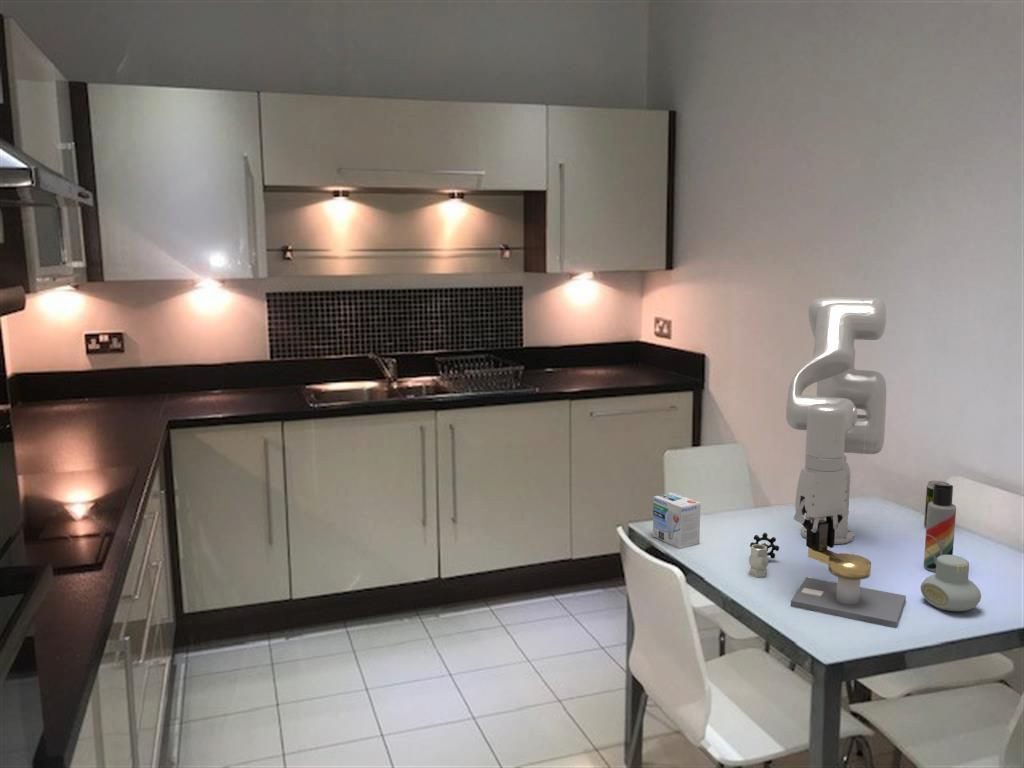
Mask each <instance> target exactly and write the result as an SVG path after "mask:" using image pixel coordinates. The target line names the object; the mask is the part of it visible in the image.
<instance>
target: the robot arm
mask: <svg viewBox="0 0 1024 768" xmlns="http://www.w3.org/2000/svg"><path fill="white" fill-rule="evenodd" d="M886 307H887V306H886V304H885V302H884V301H883V299H882V298H878V297H859V296H858V297H856V296H855V297H854V296H853V297H850V296H847V297H846V296H827V297H819V298H816V299H815V298H814V300H812V301H811V302H810V304H809V305H808V313H807V314H808V321H809V326H810V328H811V332H812V335H813V338H814V342H813V343H814V345H813V353H812V354H813V356H812V358H810V359H809V360H807V361H806V362H805V363H804V364H803V365H801V367H799V368H798V370H797V371H796V372H795V373H794V375H793V376H792V378H791V380H790V382H789V387H788V392H787V399H786V408H785V409H786V410H785V418H786V419H785V420H786V422H787V425H788V426H789V427H791V428H792V429H795V430H798V431H805V433H806V434H805V437H806V438H805V457H804V458H805V459H804V468H803V467H802V468H801V470H800V472H799V477H798V481H797V484H796V485H797V486H796V494H795V504H794V507H795V509H794V511H795V514H794V516H793V520H794V521H796V522H799V523H800V524H801V525H802V527H801V528H800V535H801V536H802V537H804V538H805V542H806V544H805V545H806V547H807V548H811V549H813V550H818V549H819V532H817V528H818V521H819V520H825V521H827V522H829V528H828V548H830V549H834V548H835V545H841V544H842V545H843V544H847V543H848V544H849V543H851V542H853V540H854V538H855V533H854V532H853V531H852V530H851V529H849V525H848V524H849V513H850V510H849V509H850V508H849V506H850V491H851V490H850V489H851V487H850V486H851V472H852V471H851V468H850V465H849V463H848V462H847V456H846V455H845V453H847V454H848V453H849V454H858V455H861V454H862V455H877V454H878V453H880V452H881V451H882V449H883V447H884V443H885V435H886V430H885V429H886V411H887V410H886V409H887V383H886V378H885V377H884V375H883V374H882V373H881V372H879V371H876V370H867V369H865V370H864V369H856V368H855V362H856V361H855V360H856V359H855V358H856V349H855V340H857V341H859V340H860V341H861V340H862V341H877V340H880V339H881V338H882V337H883V335H884V333H885V330H886V324H887V308H886ZM815 383H816V395H802V393H803V392H804V391H805V390H806V389H807V388H808V387H810V386H812V385H813V384H815ZM858 410H862V411H864V413H865V414H858Z"/></svg>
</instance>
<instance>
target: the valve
mask: <svg viewBox="0 0 1024 768" xmlns="http://www.w3.org/2000/svg"><path fill="white" fill-rule="evenodd" d="M761 536H762V537H760V536H759V535H758V534H755V535H754V536H753V540H755V542H753V541H752V542H750V543H749V547H750V554H749V558H748V563H749V566H750V568H749V575H750V574H751V575H750V576H752V575H753V576H752V577H755V576H756V577H755V578H766V575H767V567H768V565H769V557H768V556H770V558H771V559H772V560H774V559H775V558H776V553H775V552H779V550H780V546H779V545H777V544H776V545H775V543H776V540H777V538H776V537H775V536H772V537H771V538H769V537H768V533H767V532H763V533H762V535H761ZM761 541H765V542H763V543H761V544H760V543H759V542H761ZM766 542H768V543H769V544H768V543H766ZM770 548H771V550H770V551H769V549H770ZM768 551H769V552H768ZM774 551H775V552H774Z"/></svg>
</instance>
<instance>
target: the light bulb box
mask: <svg viewBox="0 0 1024 768" xmlns="http://www.w3.org/2000/svg"><path fill="white" fill-rule="evenodd" d="M652 505H653V506H652V508H653V509H652V510H653V511H652V537H654V538H655V539H658V540H661V541H662V542H664V543H666V544H668V545H671V546H673V547H675V548H676V549H679V550H680V549H683V548H688V547H692V546H696V545H700V539H701V537H700V534H701V533H700V531H701V529H700V528H701V502H700V501H697V500H694V499H692V498H688V497H686V496H683V495H681V494H678V493H677V492H676V493H675V492H672V491H671V492H668V493H663V494H660V495H655V496H653V504H652Z"/></svg>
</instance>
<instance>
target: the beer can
mask: <svg viewBox="0 0 1024 768" xmlns="http://www.w3.org/2000/svg"><path fill="white" fill-rule="evenodd" d="M934 484H946V485H951V484H950V483H949V482H947V481H943V480H929V481H928V482H927V485H926V492H925V493H926V494H925V495H926V496H925V504H924V505H925V508H924V520H923V521H924V522H923V525H924V528H925V529H926V524H927V510H928V503H929V502H933V490H934Z"/></svg>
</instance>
